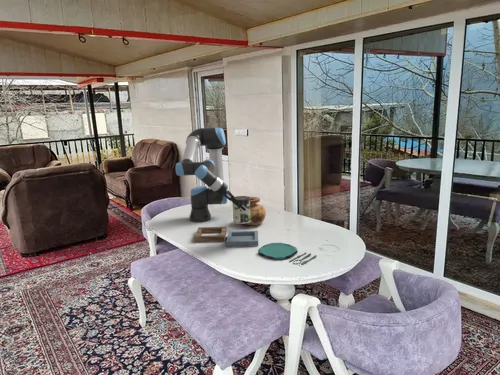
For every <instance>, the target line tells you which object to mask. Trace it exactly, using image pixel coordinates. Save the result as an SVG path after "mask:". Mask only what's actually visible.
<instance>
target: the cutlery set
mask: <svg viewBox="0 0 500 375" xmlns="http://www.w3.org/2000/svg"><path fill="white" fill-rule="evenodd" d="M257 250H258V253H259V254H260V255H262V256H264V257H266V258H270V259H275V260H284V259H286V258H291V257H292V256H294V255H295V254H296V253H298V252H299V251H298V249H297V247H296V246H293V245H291V244H289V243H288V244H287V243H283V242H270V243H268V244H265V245H263V246H261V247H259V248H258V249H257ZM306 254H307V252H306V251H305V252H304V253H302V254H300V255H297V256H296V257H294V258H292V259H290V260H289V261H288V263H289V262H290V263H291V262H293V264H295V265H297V264H298V263H299V264H301V265H303V266H305V265H307V264H308V262H310V261H312V260H313V259H315V258H317V255H316V254H315V255H314V256H312V257H310V258H308V257H309V256H311V255H312V253H309V254H307V255H306ZM303 255H305V256H304V257H302V256H303ZM301 257H302V258H301ZM299 258H301V259H299ZM306 258H308V259H307V260H304V259H306ZM298 260H299V261H298ZM295 261H296V262H297V261H298V262H297V263H296V262H295ZM294 262H295V263H294ZM306 263H307V264H306ZM299 264H298V265H299ZM304 264H305V265H304Z"/></svg>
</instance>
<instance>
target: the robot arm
mask: <svg viewBox="0 0 500 375" xmlns="http://www.w3.org/2000/svg"><path fill="white" fill-rule="evenodd" d="M226 142H227V141H226V135H225V132H224V129H223V128H222V127H201V128H200V127H199V128H196V129H194V130H193V131H192V132H190V133H189V134H188V135H187V137H186V139H185V149H184V151H183V155H182V158H181V162H176V164H175V174H176V175H177V176H184V177H185V176H195V177H196V178H197V179H198V180H199V181H201V182H202V183H203V184H205V185H199V186H195V187H192V188H191V189H190V204H191V205H190V206H191V210H190V213H189V221H190V222H195V223H202V222H207V221H210V220H211V219H212V214H211V211H210V210H209V206H208V205H211V206H212V205H220V206H221V205H225V204H228V200H229V201H230V202H232V204H233V203H234V204H235V205H236V206H237V207H238V209H239V208H240V209H241V210H242V211H243V212H244V213H246V214H247V215H248V214H249V213H250V212H251V211H249V210H248V209H247V208H246V207H245V206H244V205H242V204H241V203H240V202H239V201H238V200H236V199H235V198H234V197H235V195H234V194H232V192H231V191H230V190H229V186H228V184H226V183H225V182H224V180H225V179H224V167H223V152H222V151H223V149H224V148H225V147H224V146H225V145H227V144H226ZM201 146H202V147H205V146H206V150H207V151H208V154H209V155H208V156H209V159H208V158H207V159H205V160H203V161H197V162H196V157H197V153H198V149H199V148H200V147H201Z"/></svg>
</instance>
